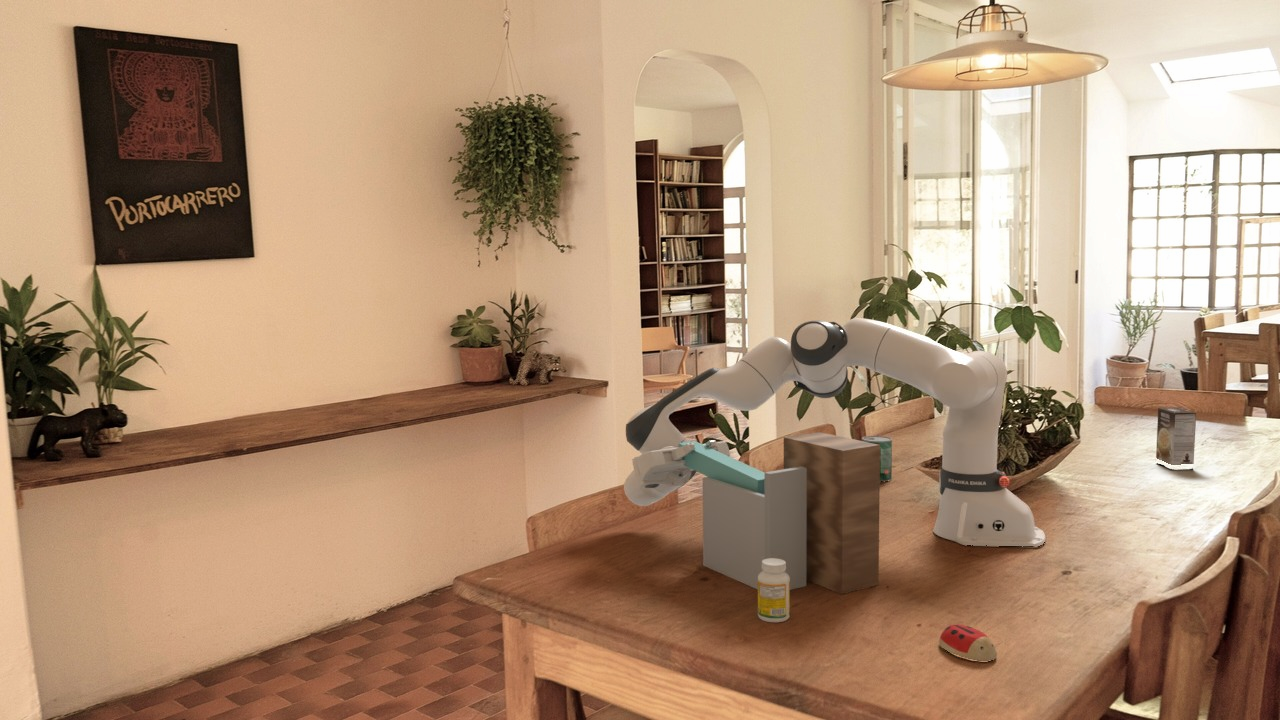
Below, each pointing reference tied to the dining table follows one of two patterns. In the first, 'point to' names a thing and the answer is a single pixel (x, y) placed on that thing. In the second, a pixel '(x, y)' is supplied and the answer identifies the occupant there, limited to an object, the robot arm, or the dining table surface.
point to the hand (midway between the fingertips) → (702, 445)
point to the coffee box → (1176, 435)
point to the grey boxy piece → (756, 526)
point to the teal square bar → (724, 468)
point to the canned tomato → (883, 455)
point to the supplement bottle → (773, 591)
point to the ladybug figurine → (967, 643)
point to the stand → (839, 508)
